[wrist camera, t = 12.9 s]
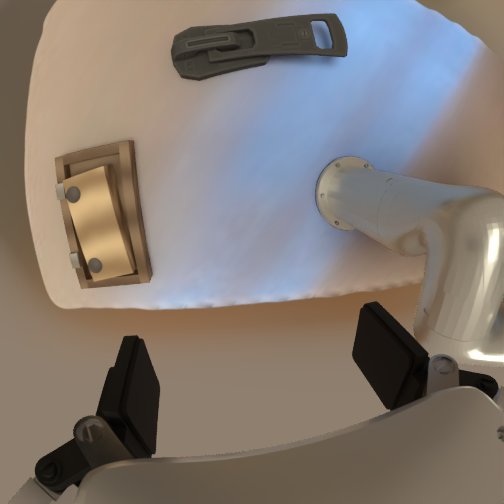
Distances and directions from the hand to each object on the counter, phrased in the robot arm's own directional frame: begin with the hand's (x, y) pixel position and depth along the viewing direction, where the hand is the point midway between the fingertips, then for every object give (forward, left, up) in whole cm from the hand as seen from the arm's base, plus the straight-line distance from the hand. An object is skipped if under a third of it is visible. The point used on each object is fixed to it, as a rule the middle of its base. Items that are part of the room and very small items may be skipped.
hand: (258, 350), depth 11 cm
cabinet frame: (+18, 0, -33) cm, 38 cm away
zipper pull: (-7, -24, -34) cm, 42 cm away
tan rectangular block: (+18, +1, -32) cm, 37 cm away
